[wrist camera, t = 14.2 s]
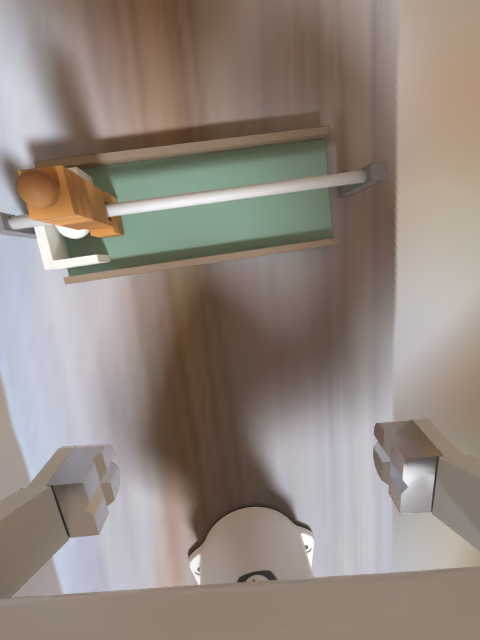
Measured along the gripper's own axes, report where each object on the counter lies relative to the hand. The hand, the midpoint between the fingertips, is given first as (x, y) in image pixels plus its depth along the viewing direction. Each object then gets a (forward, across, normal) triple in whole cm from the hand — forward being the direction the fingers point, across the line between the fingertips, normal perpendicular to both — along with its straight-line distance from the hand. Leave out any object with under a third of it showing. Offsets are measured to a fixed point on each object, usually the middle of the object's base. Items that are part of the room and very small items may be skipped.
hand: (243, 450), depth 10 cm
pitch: (+32, +4, -9) cm, 33 cm away
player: (+29, +14, -8) cm, 33 cm away
